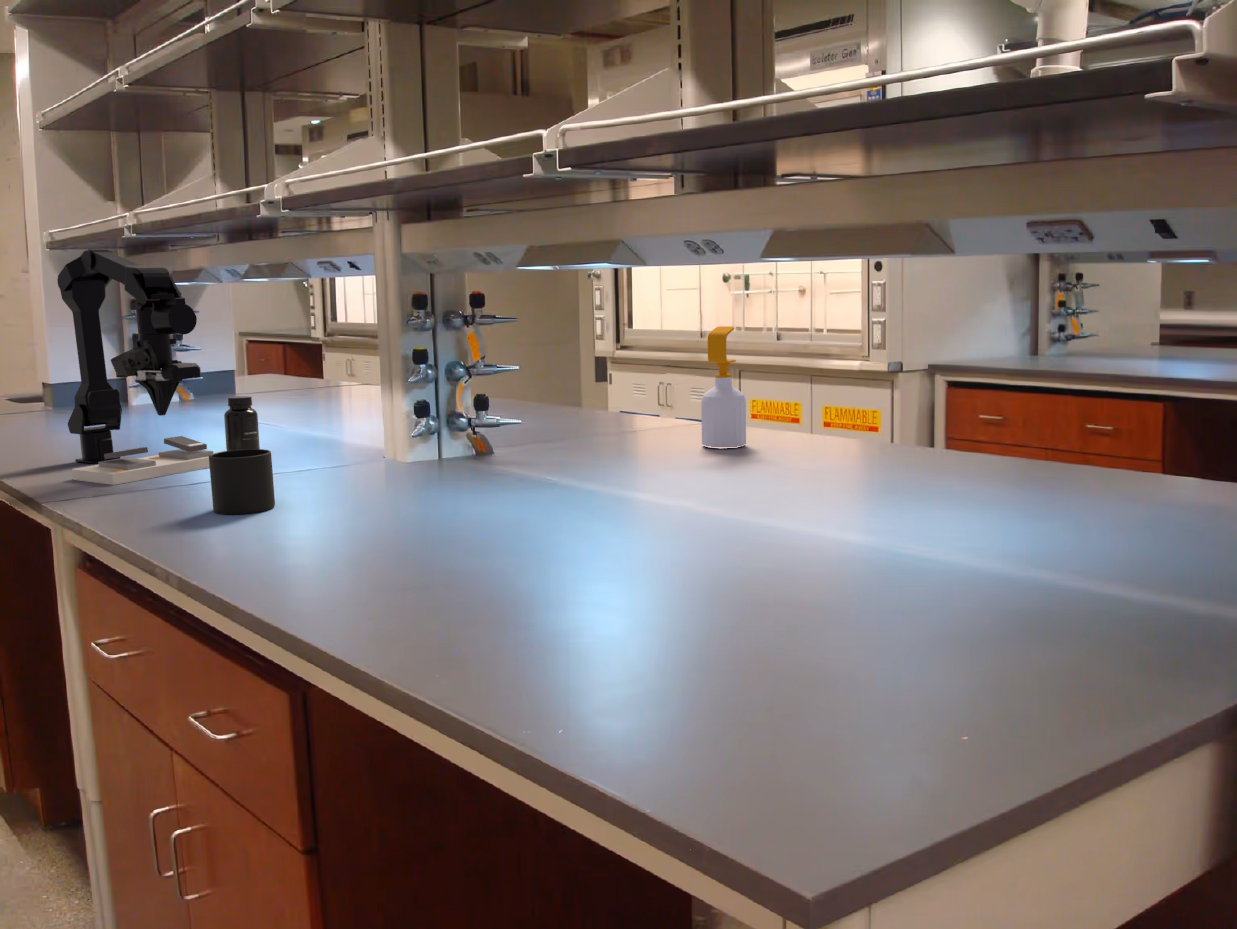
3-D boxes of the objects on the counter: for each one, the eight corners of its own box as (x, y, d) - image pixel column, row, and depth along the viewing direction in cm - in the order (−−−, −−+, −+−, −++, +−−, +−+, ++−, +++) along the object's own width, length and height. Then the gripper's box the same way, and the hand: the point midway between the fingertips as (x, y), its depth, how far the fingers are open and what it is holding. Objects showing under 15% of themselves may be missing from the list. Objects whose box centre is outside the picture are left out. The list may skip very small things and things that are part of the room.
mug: (270, 498, 189) (266, 445, 188) (278, 511, 179) (274, 454, 177) (210, 504, 186) (205, 449, 184) (215, 517, 175) (210, 460, 174)
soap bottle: (753, 444, 235) (752, 325, 231) (733, 450, 228) (732, 328, 224) (714, 442, 240) (713, 325, 236) (694, 448, 232) (692, 327, 228)
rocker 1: (104, 459, 215) (103, 453, 215) (123, 456, 219) (122, 450, 219) (129, 455, 211) (127, 449, 211) (148, 452, 214) (147, 446, 214)
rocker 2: (163, 443, 226) (163, 438, 226) (181, 440, 229) (181, 435, 229) (189, 452, 222) (189, 446, 222) (206, 449, 225) (206, 443, 225)
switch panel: (72, 479, 213) (70, 464, 213) (186, 460, 234) (185, 446, 234) (113, 485, 206) (111, 469, 206) (227, 464, 227) (226, 450, 227)
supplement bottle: (254, 455, 239) (249, 398, 237) (222, 455, 239) (217, 399, 237) (264, 450, 246) (260, 394, 244) (233, 450, 246) (229, 395, 244)
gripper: (86, 336, 214) (94, 417, 217) (146, 336, 204) (154, 422, 207) (139, 332, 223) (146, 411, 226) (199, 333, 213) (206, 415, 216)
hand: (161, 415), depth 218 cm, fingers closed
